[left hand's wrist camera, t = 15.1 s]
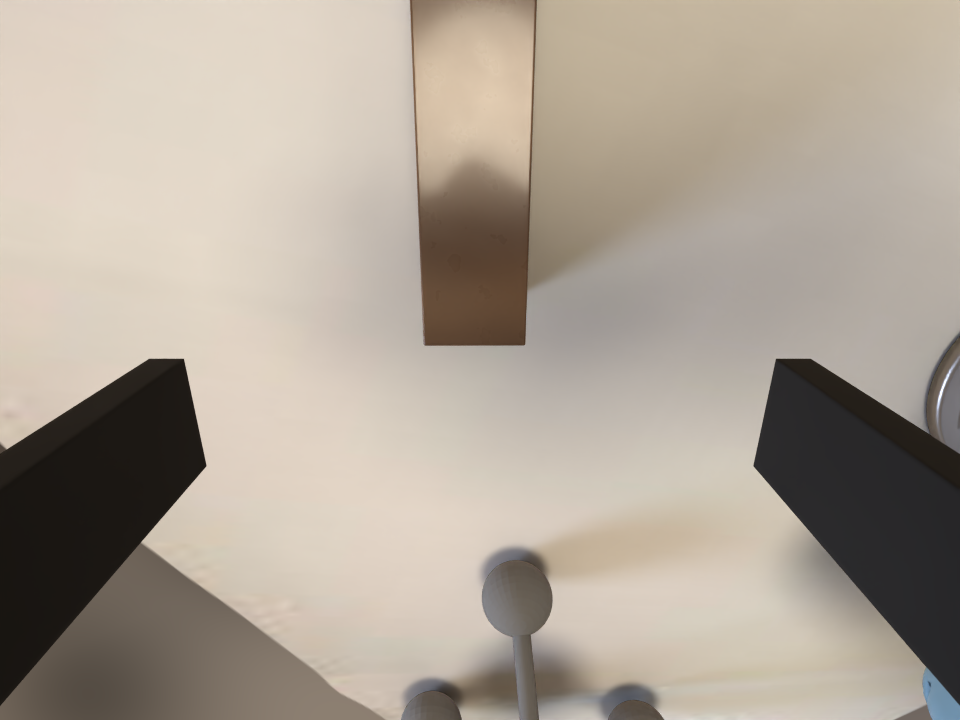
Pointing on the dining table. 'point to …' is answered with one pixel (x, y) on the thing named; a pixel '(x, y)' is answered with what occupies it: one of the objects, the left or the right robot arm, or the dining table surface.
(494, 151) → the bar
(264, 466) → the dining table surface
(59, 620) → the left robot arm
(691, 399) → the dining table surface
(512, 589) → the molecular model
